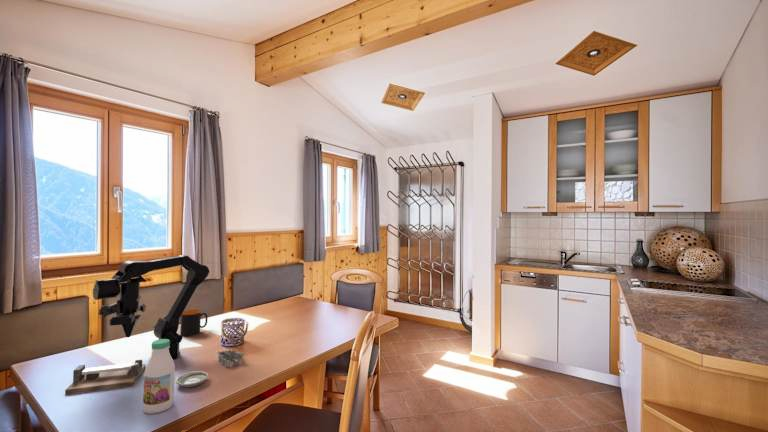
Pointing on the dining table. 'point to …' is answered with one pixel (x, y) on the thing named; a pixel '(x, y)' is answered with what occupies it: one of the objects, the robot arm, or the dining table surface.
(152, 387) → the milk bottle
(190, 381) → the saucer
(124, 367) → the bar
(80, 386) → the base
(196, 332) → the mug
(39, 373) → the dining table surface
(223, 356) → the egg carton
